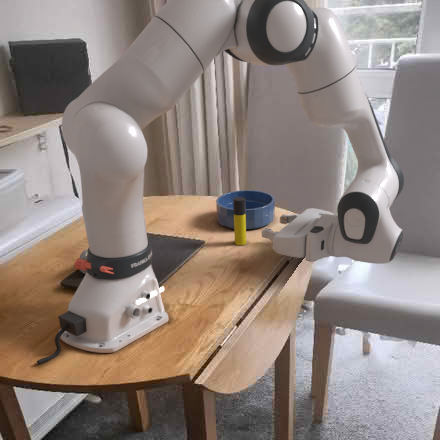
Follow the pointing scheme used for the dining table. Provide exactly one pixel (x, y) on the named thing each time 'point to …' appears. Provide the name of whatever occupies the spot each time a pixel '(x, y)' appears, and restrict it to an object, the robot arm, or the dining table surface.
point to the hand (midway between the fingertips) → (272, 225)
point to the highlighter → (239, 220)
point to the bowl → (247, 208)
